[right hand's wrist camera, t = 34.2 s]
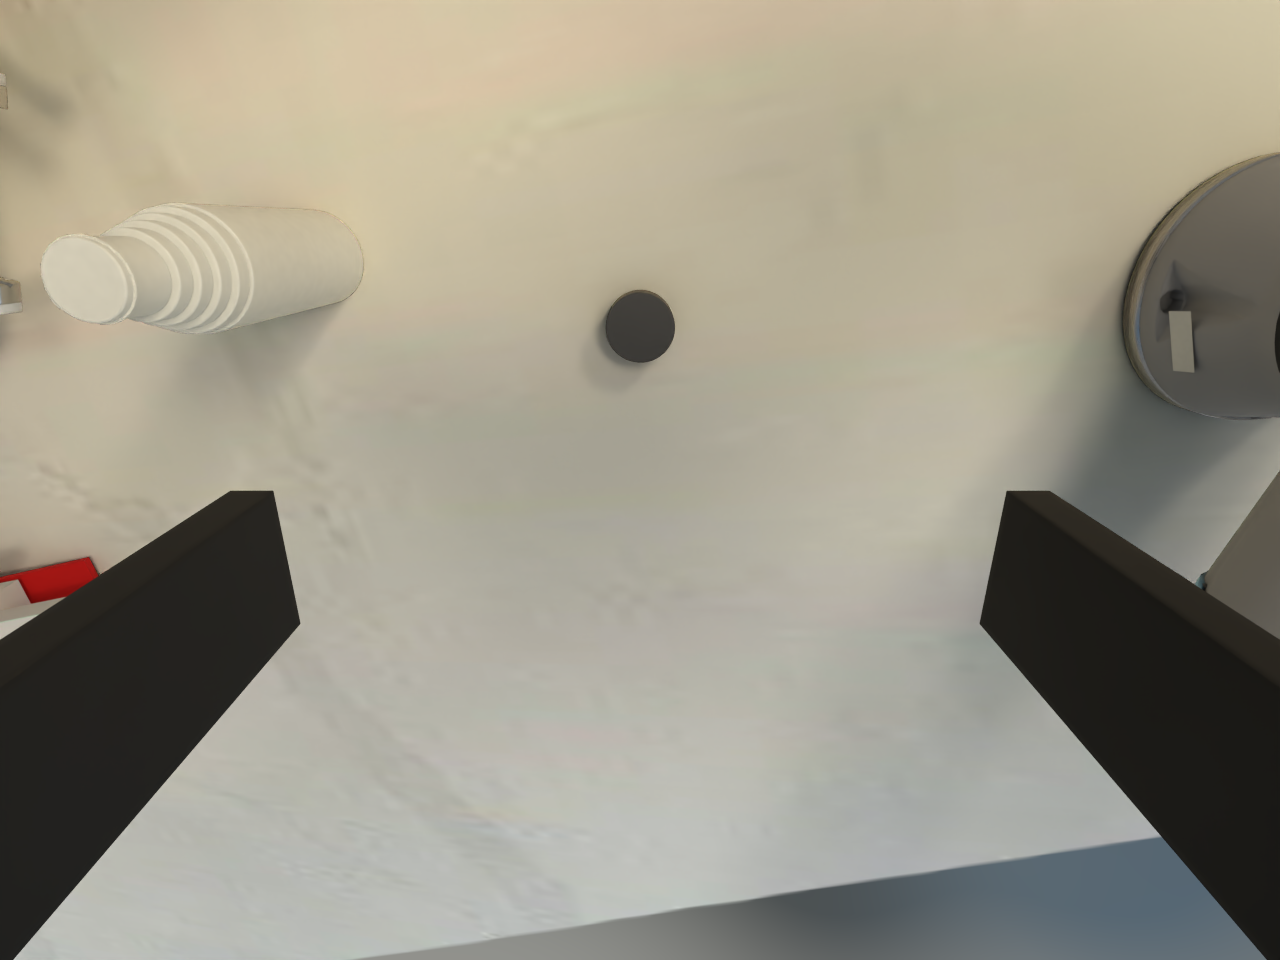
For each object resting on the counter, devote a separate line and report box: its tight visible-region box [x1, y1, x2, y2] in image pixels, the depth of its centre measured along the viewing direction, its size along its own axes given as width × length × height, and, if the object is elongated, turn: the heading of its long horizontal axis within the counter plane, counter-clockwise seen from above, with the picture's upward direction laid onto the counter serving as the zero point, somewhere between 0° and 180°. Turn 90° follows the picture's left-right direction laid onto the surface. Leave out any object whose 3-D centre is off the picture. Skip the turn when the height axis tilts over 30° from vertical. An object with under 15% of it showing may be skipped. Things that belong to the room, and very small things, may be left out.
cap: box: [606, 290, 675, 362], centre depth 41 cm, size 4×4×2 cm
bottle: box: [40, 203, 364, 334], centre depth 32 cm, size 5×5×18 cm
